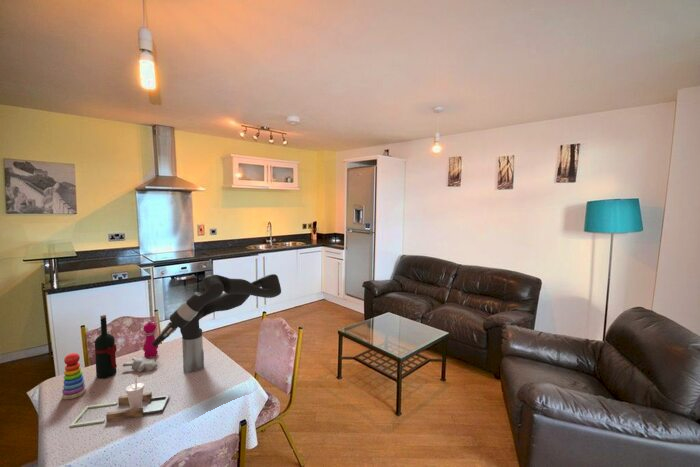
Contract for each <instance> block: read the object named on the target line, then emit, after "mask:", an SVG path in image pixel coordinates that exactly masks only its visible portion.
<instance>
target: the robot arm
mask: <svg viewBox="0 0 700 467" xmlns="http://www.w3.org/2000/svg"><path fill="white" fill-rule="evenodd" d="M201 284H202V287H203V288H204V291H205V292H203V293H202V292H200V291H197V292H194V293H192V295H191V296H190V297H189V298H187V300H186V301H184V302H183V303H182V304H181V305H180V306H178V308H176V310H175V311H173V312H172V314H171V315H170V316H169V322H168V323H167V325H165V327H164V328H163V329H162V330H161V332H160V333H159V335H158V336H157V337H156V338H155V340H154V341H153V343H152V345H153V346H154V347H156V346H157V345H158V346H159V345H160V343H161V342H164V341H165V340H166V339H167V338H169V337H170V336H171V335H172V334H174V333H175V331H176V330H177V329H178V328H179V330H180V331H179V333H180V334H181V336H182V337H181V339H182V340H181V341H182V363H183V365H182V366H183V367H182V369H183V370H182V371H183V372H184V373H187V374H188V373H189V374H192V373H196V372H199V371H201V370H203V369H205V356H204V355H205V354H204V349H203V348H204V347H203V346H204V345H203V344H204V343H203V341H204V340H203V329H202V328H200V320H201V319H202V318H204V317H206V316H208V315H210V314H214V313H216V312H223V311H229V310H233V309H235V308H237V307H240V306H243V304H244V303H246V301H247V300H248V298H250V296H253V297H257V298H258V297H259V298H265V299H272V298H276V297H278V296H279V295H281V294H282V288H281V283H280V279H279V276H278V275H277V274H275V273H273V274H267V275H265V276H262V277H260V278H258V279H256V280H254V281H251V282H250V281H248V280H246V279H244V278H243V279H242V278H231V277H230V278H229V277H226V276H222V275H219V274H209V275H206V276H205V277H204V278H202V283H201Z"/></svg>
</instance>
